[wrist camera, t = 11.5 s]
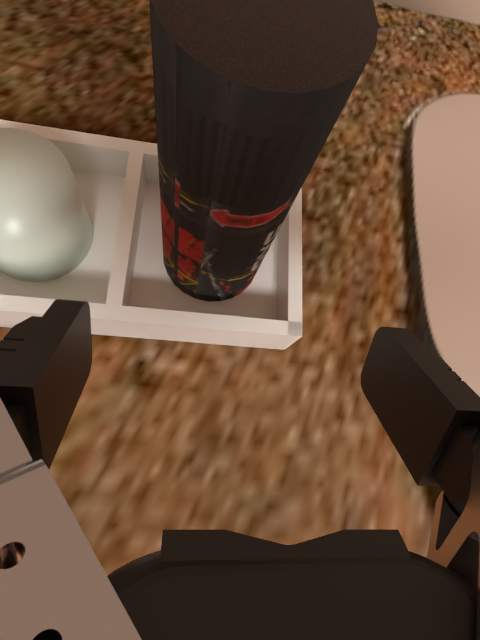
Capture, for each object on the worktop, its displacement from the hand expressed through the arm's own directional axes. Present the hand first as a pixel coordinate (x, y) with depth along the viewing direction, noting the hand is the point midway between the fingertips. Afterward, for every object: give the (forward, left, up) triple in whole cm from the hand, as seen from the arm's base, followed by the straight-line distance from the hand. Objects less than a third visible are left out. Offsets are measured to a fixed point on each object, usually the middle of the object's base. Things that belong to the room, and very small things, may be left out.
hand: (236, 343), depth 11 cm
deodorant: (-5, +6, -12) cm, 14 cm away
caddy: (-9, +3, -12) cm, 16 cm away
